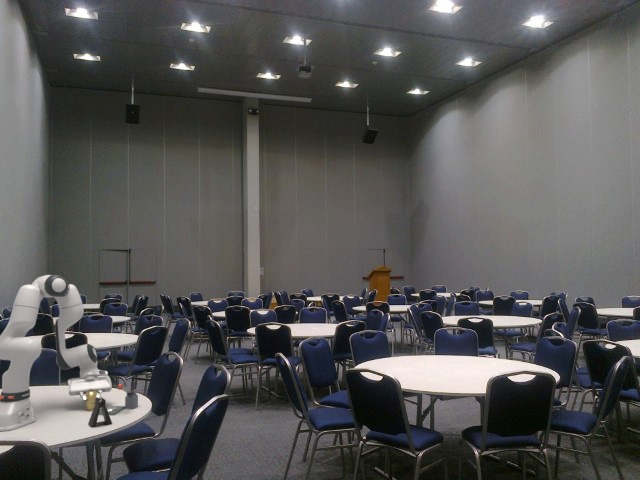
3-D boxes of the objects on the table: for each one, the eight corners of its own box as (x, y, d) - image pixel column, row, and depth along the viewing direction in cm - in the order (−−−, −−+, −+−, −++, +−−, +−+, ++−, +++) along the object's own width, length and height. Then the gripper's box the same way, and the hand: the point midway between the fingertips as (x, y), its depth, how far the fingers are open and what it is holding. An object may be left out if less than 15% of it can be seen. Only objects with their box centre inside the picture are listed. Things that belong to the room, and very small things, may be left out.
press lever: (129, 396, 283) (130, 390, 285) (134, 396, 283) (135, 390, 284) (116, 389, 268) (117, 383, 270) (121, 389, 268) (122, 383, 269)
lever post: (134, 408, 280) (134, 391, 281) (125, 408, 281) (125, 390, 281) (137, 406, 285) (137, 388, 285) (128, 406, 285) (128, 388, 285)
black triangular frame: (108, 421, 259) (108, 395, 259) (112, 424, 254) (112, 397, 255) (88, 424, 254) (88, 397, 254) (91, 427, 249) (91, 400, 249)
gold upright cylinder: (93, 411, 276) (93, 389, 277) (83, 411, 277) (84, 389, 277) (98, 408, 281) (98, 387, 282) (88, 408, 282) (88, 387, 282)
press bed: (114, 415, 269) (114, 412, 269) (94, 414, 270) (94, 412, 270) (125, 408, 281) (125, 405, 281) (105, 408, 282) (105, 405, 282)
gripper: (67, 375, 281) (68, 399, 272) (110, 371, 290) (113, 394, 282) (66, 382, 285) (68, 406, 276) (109, 378, 294) (112, 401, 285)
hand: (91, 400), depth 279 cm, fingers closed on gold upright cylinder, 5 cm apart
